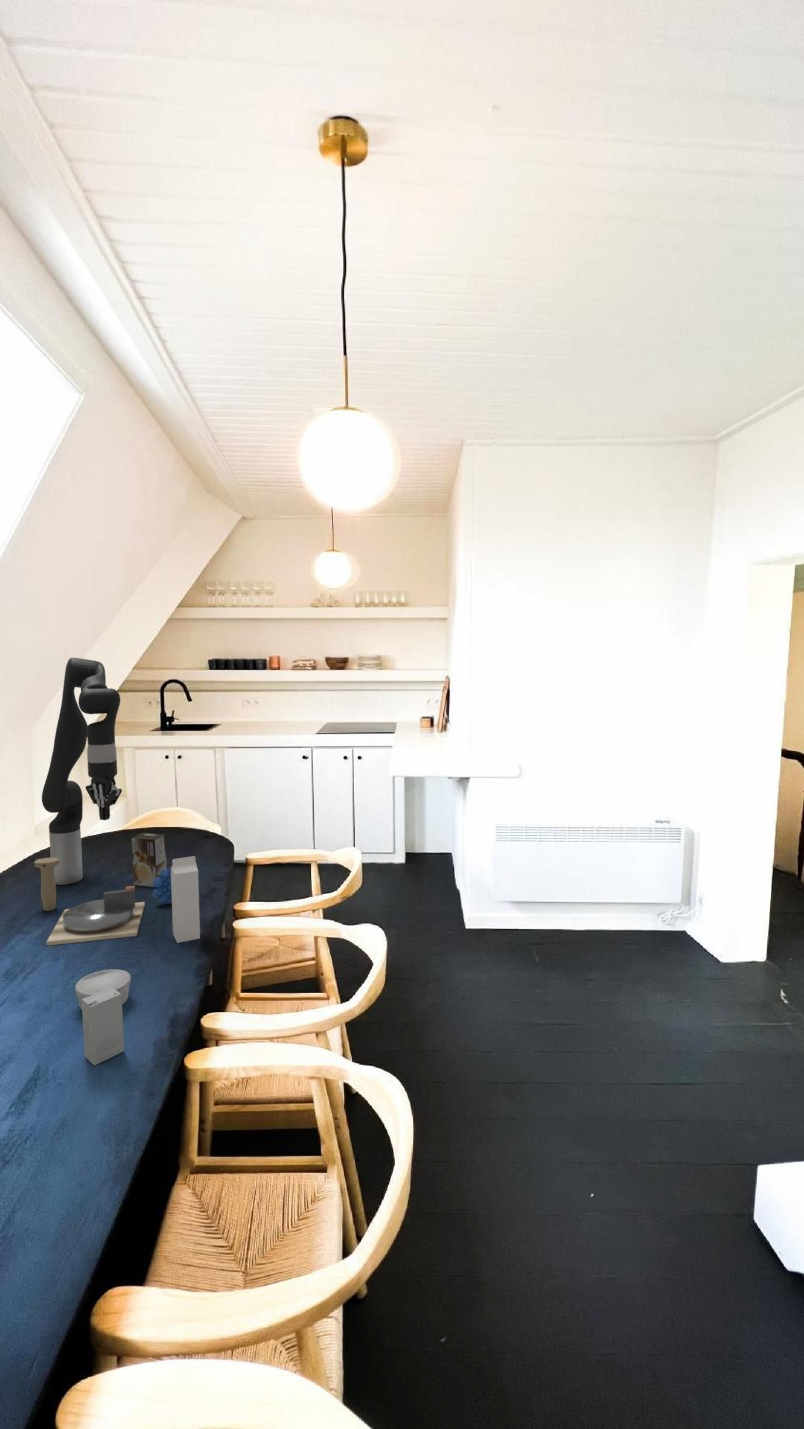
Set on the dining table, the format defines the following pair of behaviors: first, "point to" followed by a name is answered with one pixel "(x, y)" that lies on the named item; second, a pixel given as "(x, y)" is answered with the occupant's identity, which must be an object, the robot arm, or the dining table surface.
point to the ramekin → (103, 984)
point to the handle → (47, 882)
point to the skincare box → (103, 1025)
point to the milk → (185, 899)
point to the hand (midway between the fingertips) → (104, 819)
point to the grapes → (163, 887)
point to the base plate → (126, 930)
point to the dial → (101, 912)
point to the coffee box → (148, 858)
